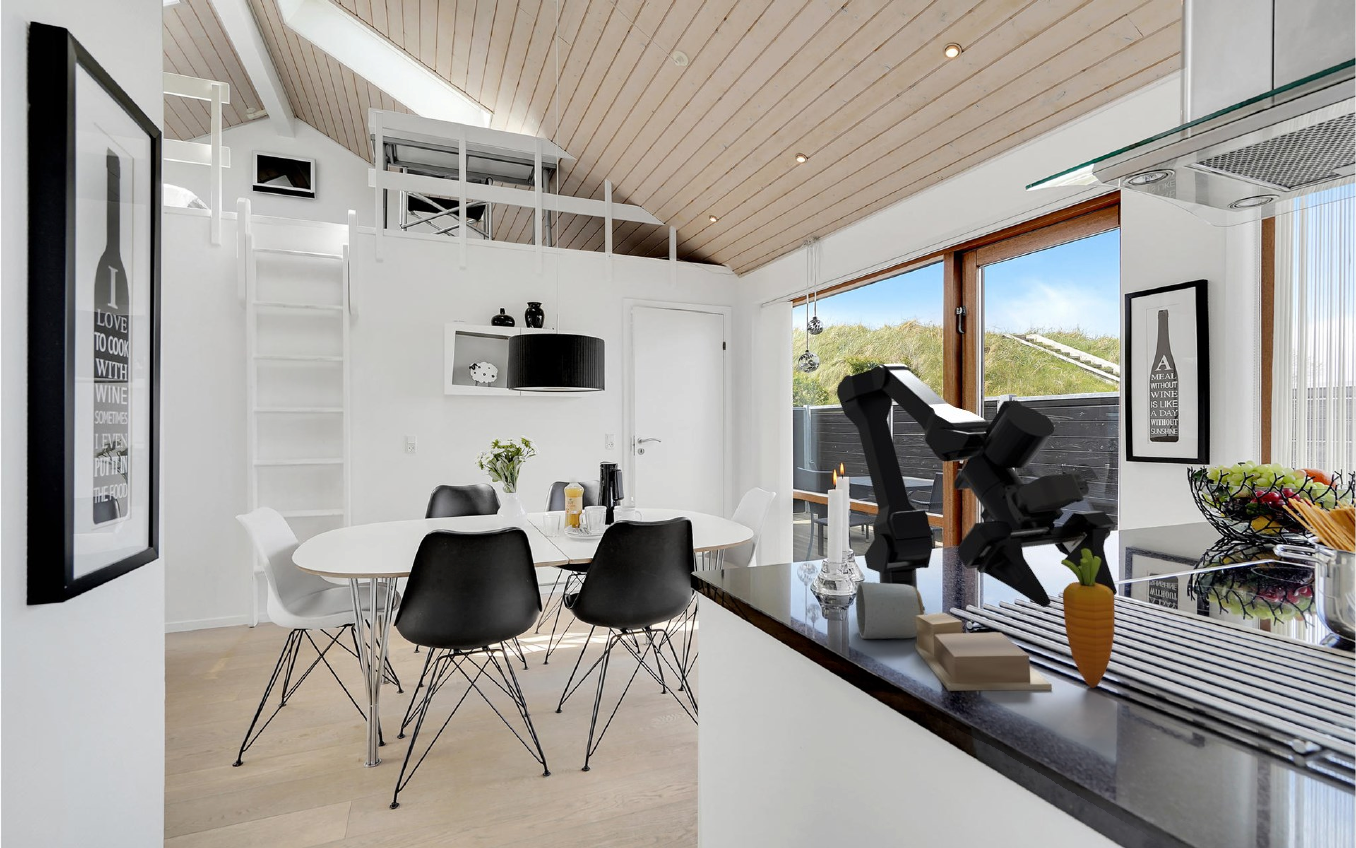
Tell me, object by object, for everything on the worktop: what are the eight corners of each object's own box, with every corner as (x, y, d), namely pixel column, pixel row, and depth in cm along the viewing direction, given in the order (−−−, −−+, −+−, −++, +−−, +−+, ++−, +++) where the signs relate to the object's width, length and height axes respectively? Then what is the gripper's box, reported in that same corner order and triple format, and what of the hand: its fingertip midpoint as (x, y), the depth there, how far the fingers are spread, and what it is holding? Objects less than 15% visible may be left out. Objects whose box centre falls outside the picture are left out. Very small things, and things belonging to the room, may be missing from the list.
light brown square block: (934, 658, 82) (933, 633, 82) (1002, 657, 81) (1000, 632, 81) (955, 683, 74) (954, 656, 74) (1030, 682, 73) (1029, 655, 73)
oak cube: (917, 646, 87) (916, 615, 87) (945, 643, 87) (944, 612, 87) (934, 656, 83) (932, 624, 83) (963, 653, 83) (962, 621, 83)
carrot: (1102, 700, 69) (1095, 557, 69) (1056, 685, 74) (1050, 550, 74) (1129, 689, 72) (1122, 551, 72) (1083, 675, 76) (1077, 544, 76)
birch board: (915, 648, 88) (914, 643, 88) (1001, 646, 87) (1001, 642, 87) (948, 690, 74) (948, 685, 74) (1051, 689, 73) (1051, 684, 73)
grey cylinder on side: (928, 645, 89) (925, 587, 89) (866, 646, 89) (863, 589, 89) (906, 622, 99) (903, 571, 99) (851, 624, 100) (848, 572, 100)
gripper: (968, 453, 76) (1052, 567, 66) (1096, 444, 81) (1193, 549, 71) (929, 514, 84) (998, 625, 73) (1048, 503, 89) (1129, 605, 78)
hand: (1081, 600), depth 74 cm, fingers open, 9 cm apart
